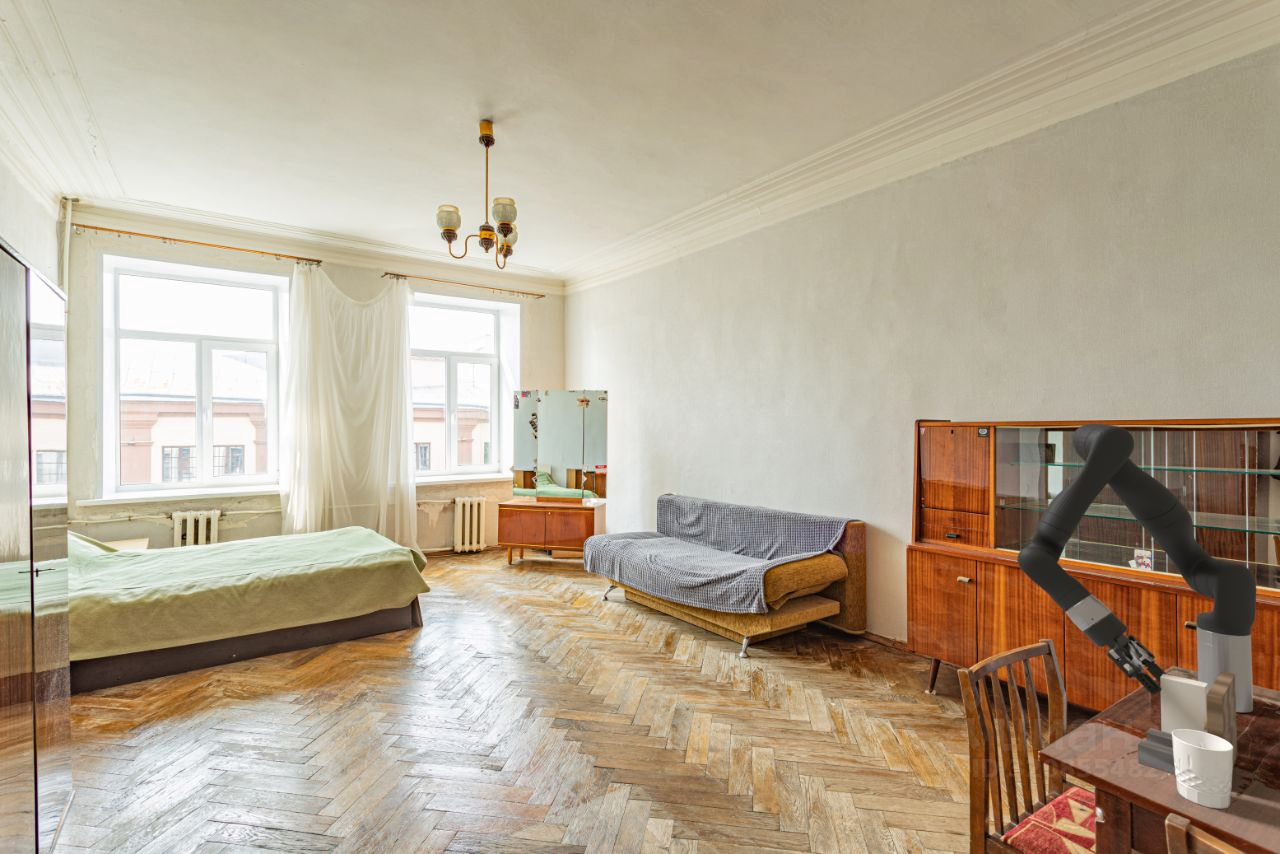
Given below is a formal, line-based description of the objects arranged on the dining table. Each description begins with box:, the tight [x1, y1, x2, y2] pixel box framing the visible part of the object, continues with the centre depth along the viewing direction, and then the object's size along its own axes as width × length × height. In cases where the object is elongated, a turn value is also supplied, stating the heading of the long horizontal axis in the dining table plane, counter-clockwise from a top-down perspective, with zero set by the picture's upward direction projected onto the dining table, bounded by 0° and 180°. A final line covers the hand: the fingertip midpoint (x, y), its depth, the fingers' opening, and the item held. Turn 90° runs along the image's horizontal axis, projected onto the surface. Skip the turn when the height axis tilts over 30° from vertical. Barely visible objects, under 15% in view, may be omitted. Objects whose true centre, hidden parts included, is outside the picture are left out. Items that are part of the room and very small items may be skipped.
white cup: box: [1172, 729, 1234, 810], centre depth 107 cm, size 8×8×10 cm
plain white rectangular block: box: [1159, 673, 1208, 734], centre depth 128 cm, size 3×7×12 cm, turn 40°
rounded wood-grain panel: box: [1137, 671, 1238, 775], centre depth 119 cm, size 17×12×16 cm
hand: (1162, 686), depth 130 cm, fingers open, 8 cm apart
